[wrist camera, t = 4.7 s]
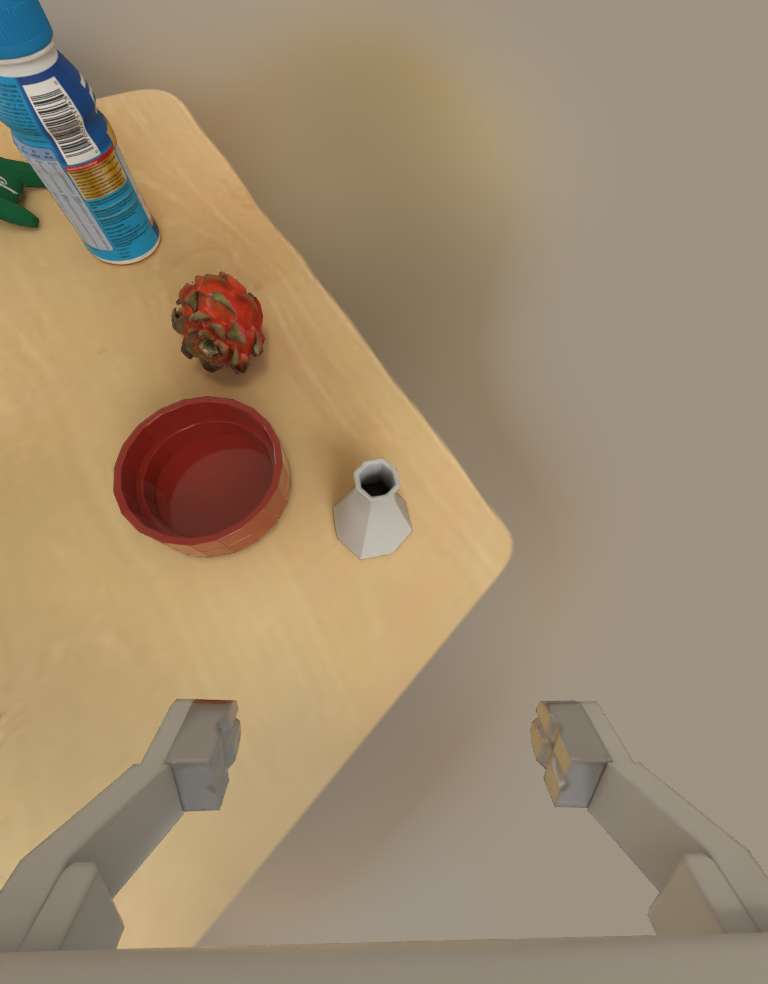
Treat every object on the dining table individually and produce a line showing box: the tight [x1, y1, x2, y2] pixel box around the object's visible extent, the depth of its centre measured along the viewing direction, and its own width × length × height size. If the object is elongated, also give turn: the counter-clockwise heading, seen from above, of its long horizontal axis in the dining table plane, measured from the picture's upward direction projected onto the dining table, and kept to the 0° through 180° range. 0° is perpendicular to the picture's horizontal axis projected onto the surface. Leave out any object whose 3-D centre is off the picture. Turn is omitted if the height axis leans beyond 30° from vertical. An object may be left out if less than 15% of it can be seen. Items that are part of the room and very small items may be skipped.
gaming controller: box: [0, 157, 46, 227], centre depth 46 cm, size 9×4×6 cm
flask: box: [333, 458, 413, 559], centre depth 32 cm, size 7×7×10 cm
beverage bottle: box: [0, 0, 160, 264], centre depth 38 cm, size 8×8×20 cm
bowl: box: [113, 396, 291, 557], centre depth 34 cm, size 13×13×5 cm
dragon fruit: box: [171, 272, 265, 374], centre depth 39 cm, size 8×8×12 cm
